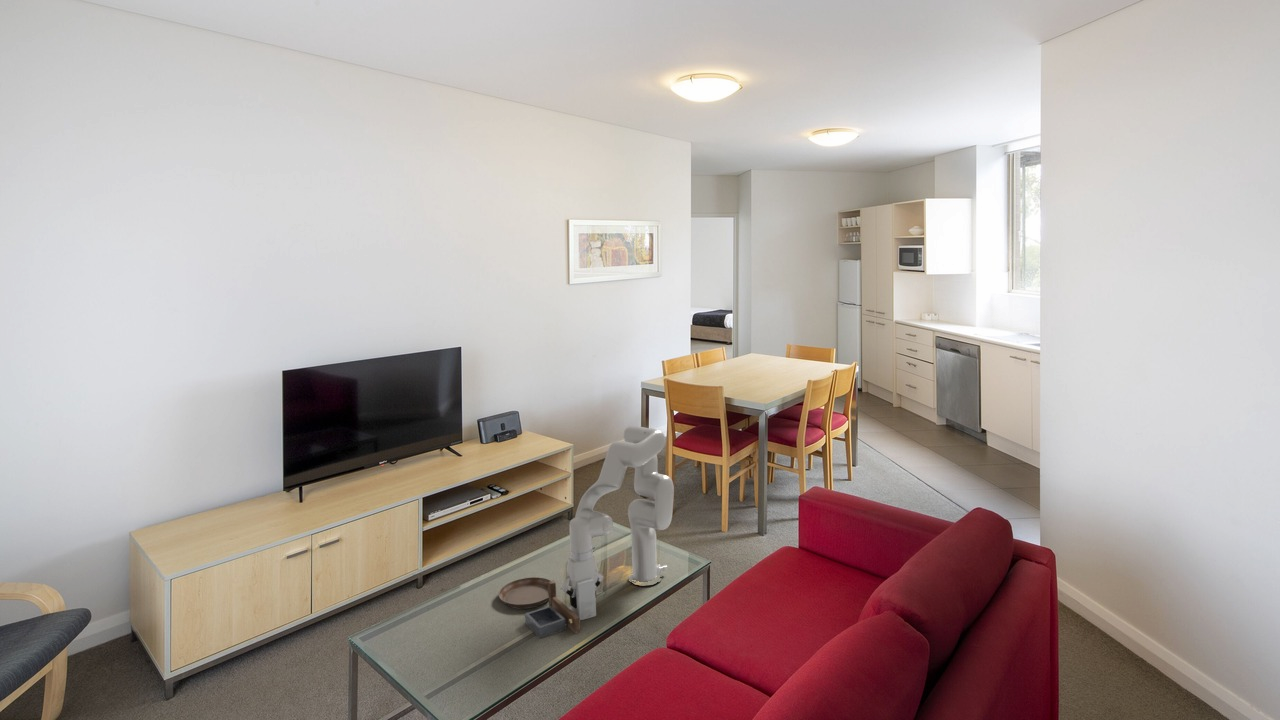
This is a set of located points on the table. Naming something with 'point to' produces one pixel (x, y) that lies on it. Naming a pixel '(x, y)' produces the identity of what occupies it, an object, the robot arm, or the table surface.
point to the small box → (585, 599)
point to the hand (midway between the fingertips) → (583, 603)
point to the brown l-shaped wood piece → (563, 608)
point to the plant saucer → (525, 593)
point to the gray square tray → (545, 621)
